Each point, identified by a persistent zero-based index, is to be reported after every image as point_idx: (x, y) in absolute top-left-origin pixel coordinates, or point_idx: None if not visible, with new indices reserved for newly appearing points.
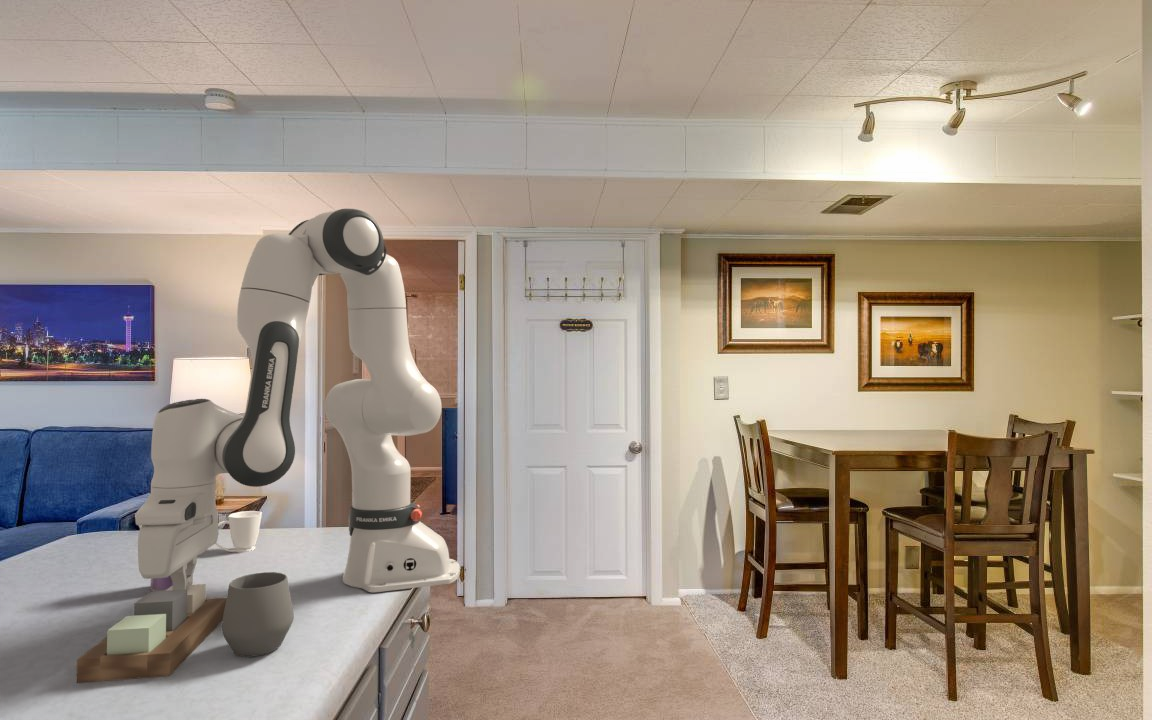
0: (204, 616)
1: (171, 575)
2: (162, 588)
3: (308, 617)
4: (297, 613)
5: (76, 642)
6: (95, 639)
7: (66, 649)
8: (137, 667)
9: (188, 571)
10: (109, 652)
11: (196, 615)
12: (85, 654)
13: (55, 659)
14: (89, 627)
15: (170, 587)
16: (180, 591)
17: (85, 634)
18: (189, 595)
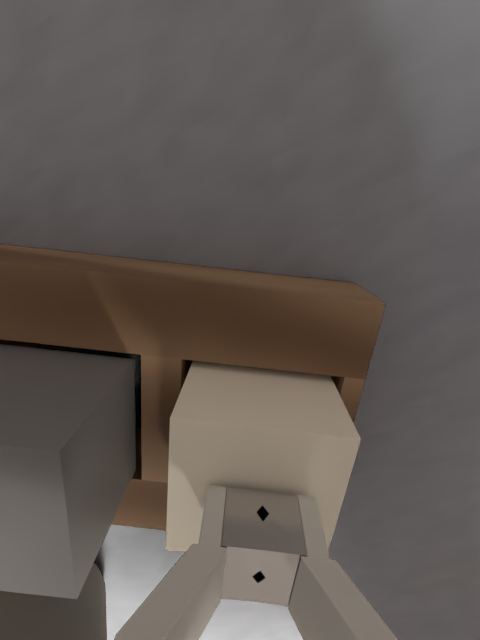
0: (132, 518)
1: (149, 601)
2: None
3: (230, 632)
4: (266, 615)
5: (184, 38)
6: (201, 118)
7: (110, 30)
8: None
9: (308, 627)
10: None
11: (147, 495)
12: None
13: (11, 36)
14: (372, 7)
15: (326, 439)
16: (47, 579)
17: (276, 35)
18: (166, 536)
